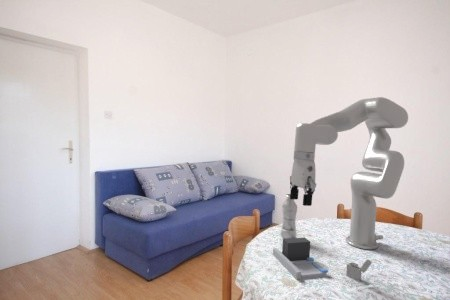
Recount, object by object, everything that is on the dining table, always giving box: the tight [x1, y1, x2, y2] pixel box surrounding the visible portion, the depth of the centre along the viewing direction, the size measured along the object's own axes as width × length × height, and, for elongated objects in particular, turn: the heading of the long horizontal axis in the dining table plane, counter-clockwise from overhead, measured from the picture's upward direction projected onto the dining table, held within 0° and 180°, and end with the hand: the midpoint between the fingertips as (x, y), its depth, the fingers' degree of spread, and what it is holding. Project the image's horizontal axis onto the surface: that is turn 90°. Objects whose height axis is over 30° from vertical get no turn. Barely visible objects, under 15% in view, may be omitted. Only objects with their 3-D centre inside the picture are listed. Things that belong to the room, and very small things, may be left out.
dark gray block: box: [281, 237, 311, 261], centre depth 98 cm, size 9×4×7 cm, turn 104°
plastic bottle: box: [280, 193, 298, 240], centre depth 118 cm, size 6×7×20 cm
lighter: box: [346, 259, 373, 282], centre depth 85 cm, size 7×2×8 cm, turn 39°
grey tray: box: [272, 247, 330, 281], centre depth 94 cm, size 12×18×3 cm, turn 14°
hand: (300, 202), depth 100 cm, fingers open, 9 cm apart
